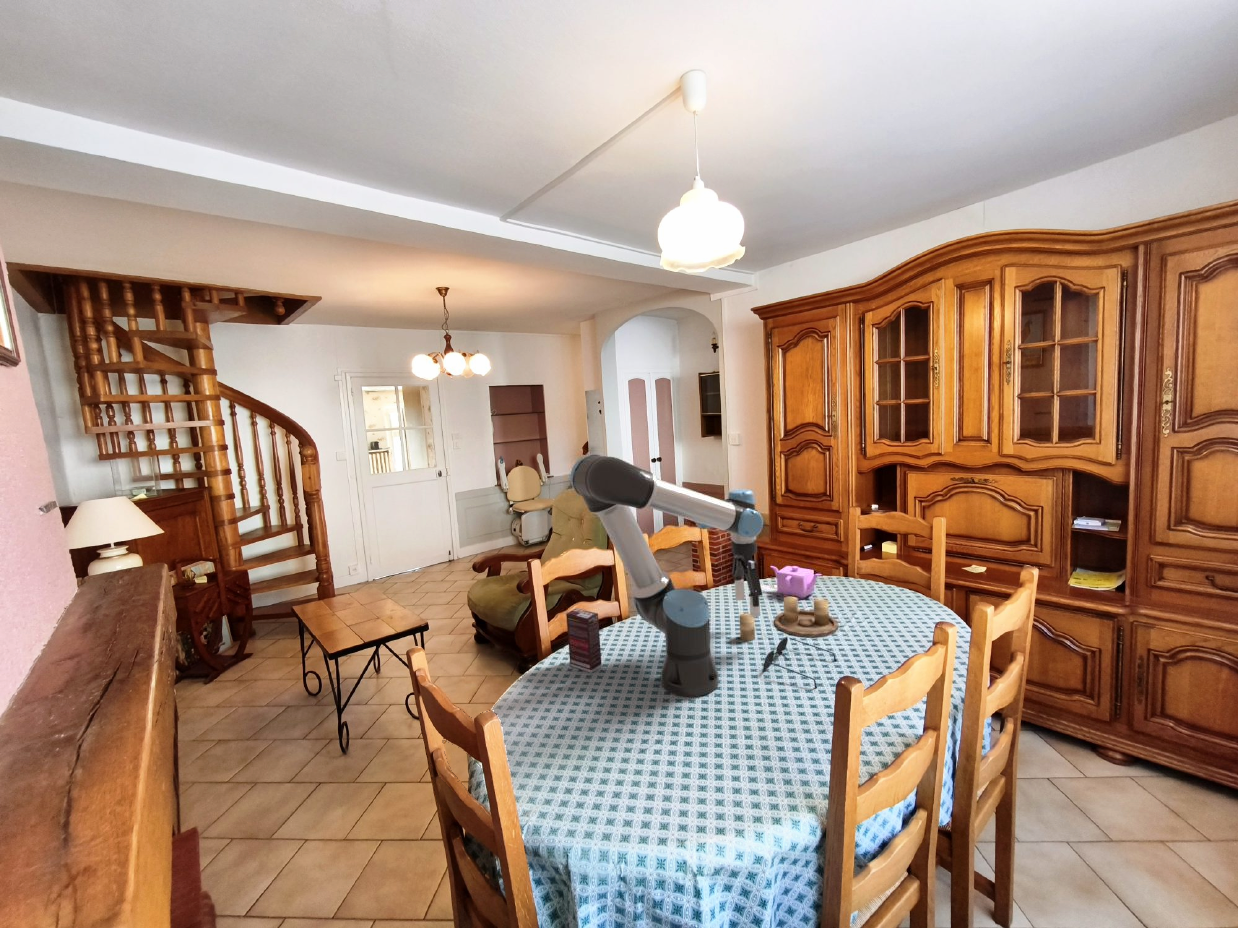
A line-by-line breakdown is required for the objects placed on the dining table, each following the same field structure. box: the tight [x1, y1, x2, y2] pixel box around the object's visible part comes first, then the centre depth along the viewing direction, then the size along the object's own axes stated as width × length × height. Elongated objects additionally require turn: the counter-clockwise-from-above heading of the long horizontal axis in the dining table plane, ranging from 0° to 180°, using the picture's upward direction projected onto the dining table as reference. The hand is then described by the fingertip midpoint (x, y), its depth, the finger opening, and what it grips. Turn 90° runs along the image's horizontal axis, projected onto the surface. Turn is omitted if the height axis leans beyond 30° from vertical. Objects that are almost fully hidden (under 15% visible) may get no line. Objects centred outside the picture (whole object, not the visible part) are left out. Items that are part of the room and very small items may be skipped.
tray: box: [774, 609, 839, 638], centre depth 170 cm, size 19×19×2 cm
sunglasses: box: [762, 636, 837, 689], centre depth 144 cm, size 17×15×5 cm
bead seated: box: [813, 598, 830, 625], centre depth 170 cm, size 4×4×7 cm
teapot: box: [770, 565, 823, 601], centre depth 197 cm, size 15×13×11 cm
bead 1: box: [739, 613, 756, 642], centre depth 164 cm, size 4×4×7 cm
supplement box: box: [565, 608, 603, 674], centre depth 152 cm, size 9×5×16 cm, turn 52°
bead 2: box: [783, 596, 799, 622], centre depth 174 cm, size 4×4×7 cm
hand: (747, 607), depth 163 cm, fingers open, 13 cm apart
